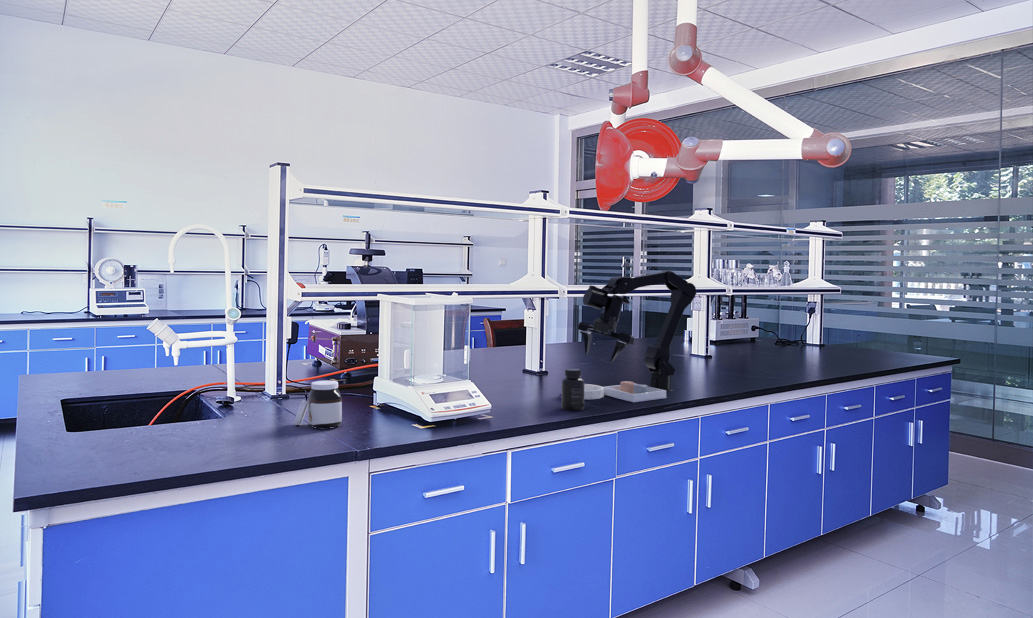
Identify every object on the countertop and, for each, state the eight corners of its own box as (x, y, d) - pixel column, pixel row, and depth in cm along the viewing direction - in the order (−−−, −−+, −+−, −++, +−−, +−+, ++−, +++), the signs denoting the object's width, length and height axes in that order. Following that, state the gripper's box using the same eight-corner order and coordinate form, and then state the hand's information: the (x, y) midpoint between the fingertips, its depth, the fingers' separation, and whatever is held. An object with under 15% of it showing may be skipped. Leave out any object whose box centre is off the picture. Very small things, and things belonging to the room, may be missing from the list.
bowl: (586, 392, 227) (586, 382, 227) (611, 398, 216) (611, 388, 215) (554, 395, 220) (555, 386, 220) (579, 402, 209) (579, 392, 208)
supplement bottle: (586, 407, 201) (587, 368, 201) (581, 412, 195) (581, 371, 194) (564, 405, 204) (565, 367, 203) (558, 410, 197) (559, 370, 197)
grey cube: (641, 395, 218) (641, 383, 218) (650, 398, 214) (650, 386, 214) (631, 397, 215) (631, 385, 215) (640, 399, 212) (640, 387, 212)
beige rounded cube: (627, 392, 223) (627, 380, 223) (636, 394, 220) (636, 382, 219) (617, 393, 221) (617, 381, 221) (626, 396, 217) (626, 383, 217)
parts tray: (634, 392, 228) (634, 383, 228) (666, 399, 215) (666, 390, 215) (602, 395, 220) (602, 386, 220) (633, 404, 207) (633, 394, 207)
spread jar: (345, 428, 173) (345, 384, 172) (301, 434, 166) (301, 388, 166) (331, 419, 183) (331, 377, 182) (289, 424, 177) (288, 380, 176)
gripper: (577, 302, 218) (565, 348, 218) (631, 316, 210) (617, 363, 210) (588, 307, 228) (576, 351, 228) (640, 321, 220) (627, 366, 220)
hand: (598, 358), depth 221 cm, fingers open, 9 cm apart
